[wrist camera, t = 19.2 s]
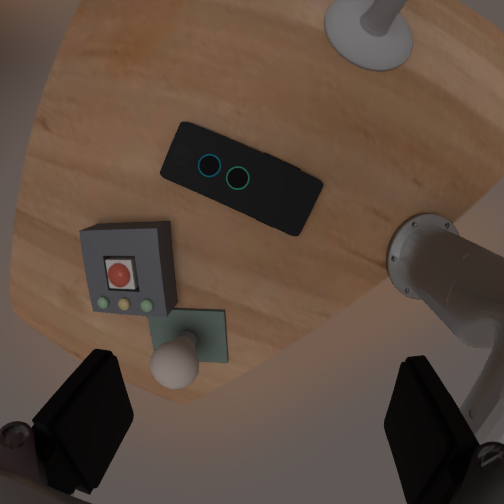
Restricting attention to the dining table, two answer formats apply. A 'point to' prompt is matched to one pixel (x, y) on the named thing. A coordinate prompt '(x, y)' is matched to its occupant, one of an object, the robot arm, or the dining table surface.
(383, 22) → the candlestick
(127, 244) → the grey button control box
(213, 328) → the mat
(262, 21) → the dining table surface
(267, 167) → the smart home device
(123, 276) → the button
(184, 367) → the light bulb
